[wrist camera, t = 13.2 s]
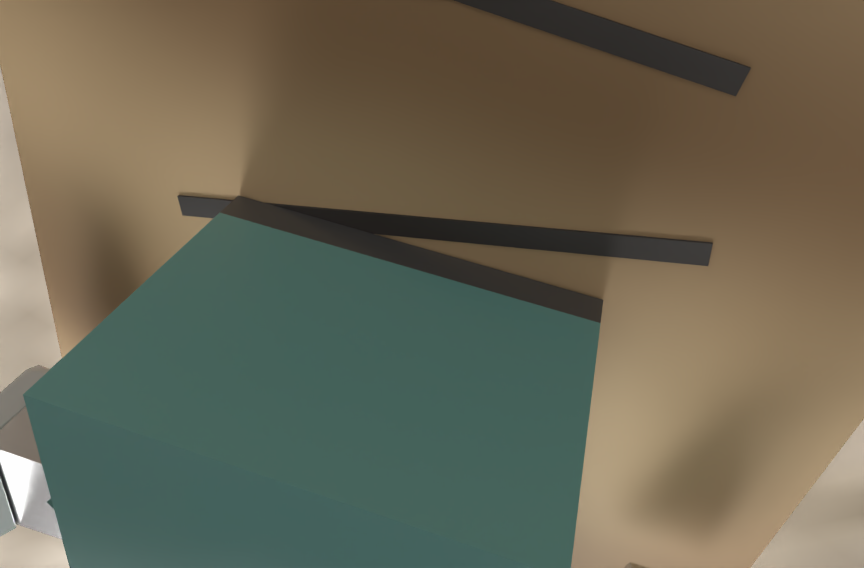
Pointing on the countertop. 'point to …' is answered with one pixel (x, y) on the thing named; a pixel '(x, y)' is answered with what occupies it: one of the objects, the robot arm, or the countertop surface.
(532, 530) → the block
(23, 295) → the countertop surface
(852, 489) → the countertop surface
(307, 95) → the oak board
